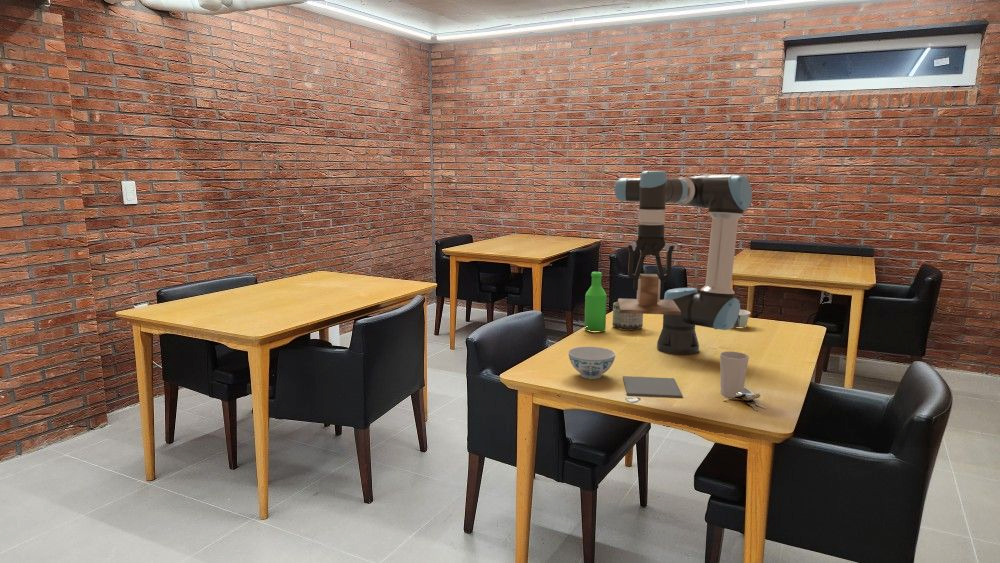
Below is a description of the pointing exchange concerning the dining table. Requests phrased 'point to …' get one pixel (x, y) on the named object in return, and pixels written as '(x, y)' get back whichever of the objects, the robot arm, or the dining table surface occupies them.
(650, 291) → the lid
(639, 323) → the planter
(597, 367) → the chinaware
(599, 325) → the bottle
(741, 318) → the food container
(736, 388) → the cup
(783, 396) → the dining table surface
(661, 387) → the mat
